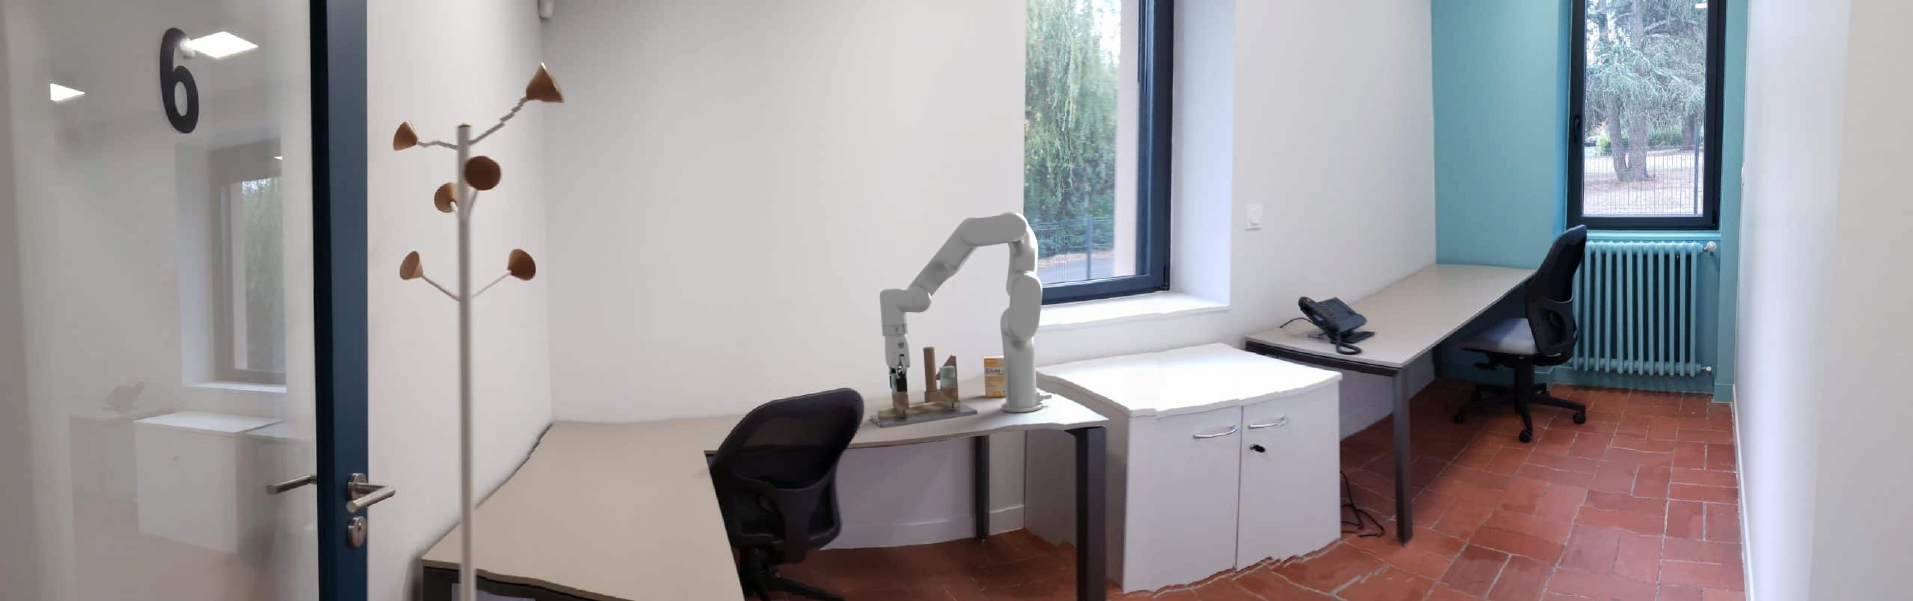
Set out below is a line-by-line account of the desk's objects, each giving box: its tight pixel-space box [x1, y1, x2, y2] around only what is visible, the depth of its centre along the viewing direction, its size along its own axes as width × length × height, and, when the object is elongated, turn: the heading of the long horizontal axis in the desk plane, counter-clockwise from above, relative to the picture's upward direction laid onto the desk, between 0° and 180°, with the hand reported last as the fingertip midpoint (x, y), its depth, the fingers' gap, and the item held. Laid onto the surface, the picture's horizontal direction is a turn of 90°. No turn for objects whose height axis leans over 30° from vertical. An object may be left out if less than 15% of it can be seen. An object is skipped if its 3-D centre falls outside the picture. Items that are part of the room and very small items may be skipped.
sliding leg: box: [890, 373, 910, 416], centre depth 316 cm, size 4×6×12 cm, turn 22°
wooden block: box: [922, 346, 960, 403], centre depth 339 cm, size 4×11×18 cm, turn 117°
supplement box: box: [983, 355, 1006, 398], centre depth 341 cm, size 8×5×13 cm, turn 81°
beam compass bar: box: [877, 366, 961, 418], centre depth 319 cm, size 26×7×13 cm, turn 112°
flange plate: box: [868, 402, 978, 427], centre depth 319 cm, size 30×14×1 cm, turn 112°
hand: (898, 389), depth 316 cm, fingers open, 5 cm apart
